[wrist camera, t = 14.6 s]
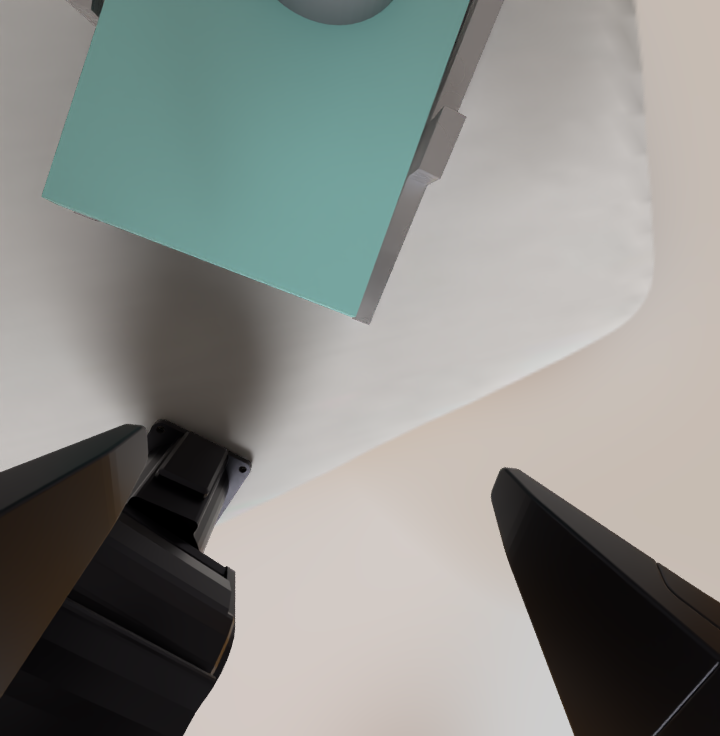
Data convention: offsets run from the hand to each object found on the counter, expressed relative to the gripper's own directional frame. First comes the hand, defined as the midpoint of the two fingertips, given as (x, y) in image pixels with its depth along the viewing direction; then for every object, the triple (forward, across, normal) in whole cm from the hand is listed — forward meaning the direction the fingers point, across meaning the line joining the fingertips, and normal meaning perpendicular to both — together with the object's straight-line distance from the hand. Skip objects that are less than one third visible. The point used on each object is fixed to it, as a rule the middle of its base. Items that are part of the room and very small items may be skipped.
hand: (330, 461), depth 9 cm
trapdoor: (+12, +4, -10) cm, 16 cm away
